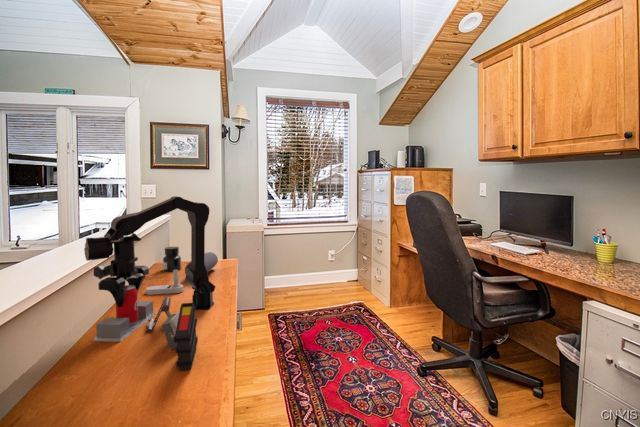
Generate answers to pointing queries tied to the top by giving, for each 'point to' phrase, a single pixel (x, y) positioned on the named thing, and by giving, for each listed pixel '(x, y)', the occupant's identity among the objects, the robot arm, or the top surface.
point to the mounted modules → (122, 322)
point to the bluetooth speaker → (207, 261)
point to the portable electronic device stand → (163, 308)
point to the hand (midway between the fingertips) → (126, 302)
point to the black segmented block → (186, 336)
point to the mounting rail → (132, 328)
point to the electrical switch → (171, 329)
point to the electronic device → (166, 287)
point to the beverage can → (129, 306)
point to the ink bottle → (171, 259)
